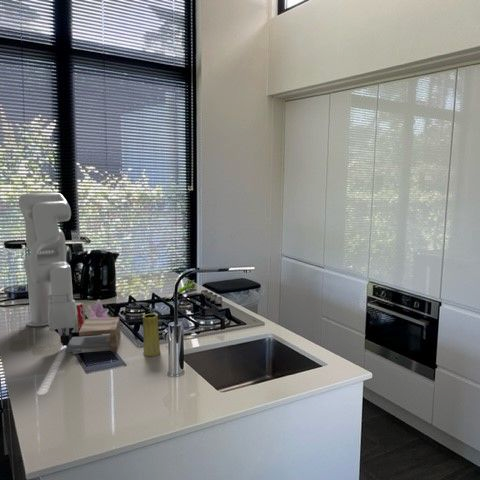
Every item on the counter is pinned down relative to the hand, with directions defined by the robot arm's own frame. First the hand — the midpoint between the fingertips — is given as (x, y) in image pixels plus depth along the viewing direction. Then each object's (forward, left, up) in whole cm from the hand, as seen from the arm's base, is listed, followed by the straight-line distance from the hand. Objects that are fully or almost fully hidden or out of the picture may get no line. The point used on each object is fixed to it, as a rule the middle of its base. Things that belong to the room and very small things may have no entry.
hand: (65, 344), depth 173 cm
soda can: (-20, +1, -2) cm, 20 cm away
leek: (-74, +47, -2) cm, 87 cm away
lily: (-29, +9, -2) cm, 30 cm away
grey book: (0, +10, -1) cm, 10 cm away
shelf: (0, +12, -1) cm, 12 cm away
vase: (+13, +33, -2) cm, 35 cm away
